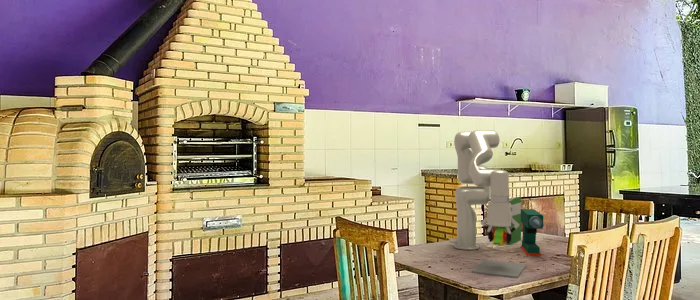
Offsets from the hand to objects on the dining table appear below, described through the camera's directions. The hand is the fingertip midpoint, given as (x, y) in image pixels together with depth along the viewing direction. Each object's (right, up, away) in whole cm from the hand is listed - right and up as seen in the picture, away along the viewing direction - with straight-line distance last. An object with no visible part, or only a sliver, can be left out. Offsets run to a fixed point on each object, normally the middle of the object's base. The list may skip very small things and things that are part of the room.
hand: (499, 241), depth 199 cm
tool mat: (0, -12, 0) cm, 12 cm away
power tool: (+25, -12, +27) cm, 39 cm away
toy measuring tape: (-1, -1, -2) cm, 3 cm away
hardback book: (+24, -12, +59) cm, 65 cm away
